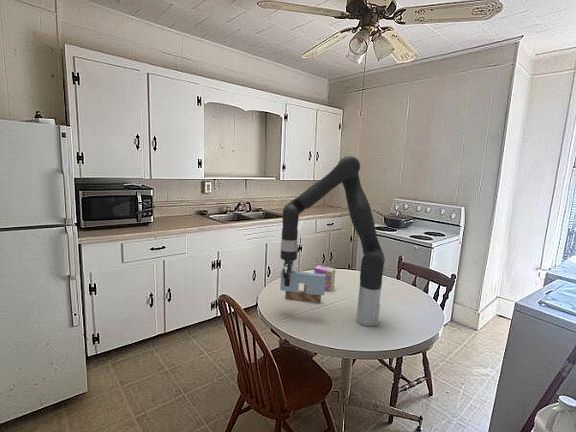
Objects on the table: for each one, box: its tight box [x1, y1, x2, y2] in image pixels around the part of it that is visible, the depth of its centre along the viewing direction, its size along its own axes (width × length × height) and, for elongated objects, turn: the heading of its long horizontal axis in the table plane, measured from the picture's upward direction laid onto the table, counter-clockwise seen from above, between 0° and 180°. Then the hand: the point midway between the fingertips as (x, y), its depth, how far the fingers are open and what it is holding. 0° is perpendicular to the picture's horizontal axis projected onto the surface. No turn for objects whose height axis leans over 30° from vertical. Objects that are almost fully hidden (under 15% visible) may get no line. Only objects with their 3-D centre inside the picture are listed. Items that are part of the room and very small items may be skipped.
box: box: [313, 264, 336, 293], centre depth 173 cm, size 10×6×12 cm, turn 62°
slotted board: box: [284, 284, 322, 304], centre depth 157 cm, size 18×2×9 cm, turn 79°
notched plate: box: [279, 269, 326, 296], centre depth 141 cm, size 20×2×9 cm, turn 79°
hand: (287, 284), depth 143 cm, fingers closed on notched plate, 2 cm apart
